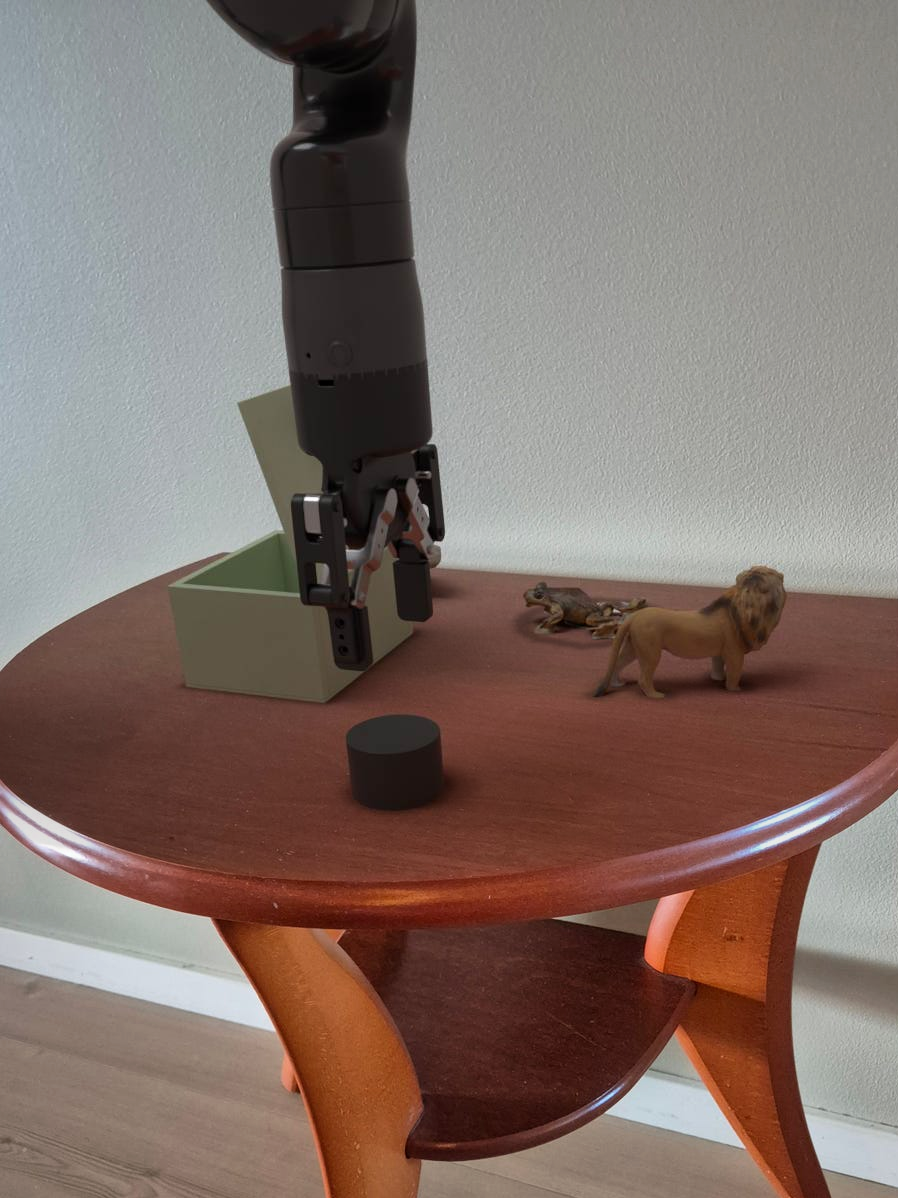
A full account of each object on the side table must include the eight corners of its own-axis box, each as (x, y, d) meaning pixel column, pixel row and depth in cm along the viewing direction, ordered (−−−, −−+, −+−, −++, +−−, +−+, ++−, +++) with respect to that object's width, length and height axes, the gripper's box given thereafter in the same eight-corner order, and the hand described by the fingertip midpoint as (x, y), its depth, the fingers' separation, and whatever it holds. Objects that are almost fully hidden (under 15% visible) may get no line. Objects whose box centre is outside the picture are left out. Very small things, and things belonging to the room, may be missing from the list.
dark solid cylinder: (336, 810, 76) (328, 747, 73) (378, 771, 80) (371, 709, 78) (421, 823, 73) (416, 758, 71) (459, 782, 78) (455, 719, 76)
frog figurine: (509, 652, 99) (507, 608, 97) (529, 605, 109) (528, 565, 107) (647, 654, 97) (648, 609, 95) (655, 606, 107) (656, 565, 105)
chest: (187, 693, 94) (166, 585, 90) (288, 626, 107) (275, 529, 103) (325, 709, 90) (311, 597, 86) (414, 638, 103) (405, 537, 98)
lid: (236, 402, 80) (302, 380, 78) (346, 366, 93) (406, 345, 90) (306, 592, 86) (370, 577, 83) (401, 533, 98) (459, 518, 96)
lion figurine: (763, 667, 93) (771, 554, 88) (792, 692, 88) (802, 574, 84) (583, 691, 91) (582, 576, 86) (603, 717, 86) (603, 597, 82)
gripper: (355, 339, 71) (382, 602, 79) (226, 378, 59) (273, 680, 67) (471, 337, 68) (486, 610, 76) (359, 378, 57) (391, 693, 65)
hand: (386, 643), depth 72 cm, fingers open, 8 cm apart
